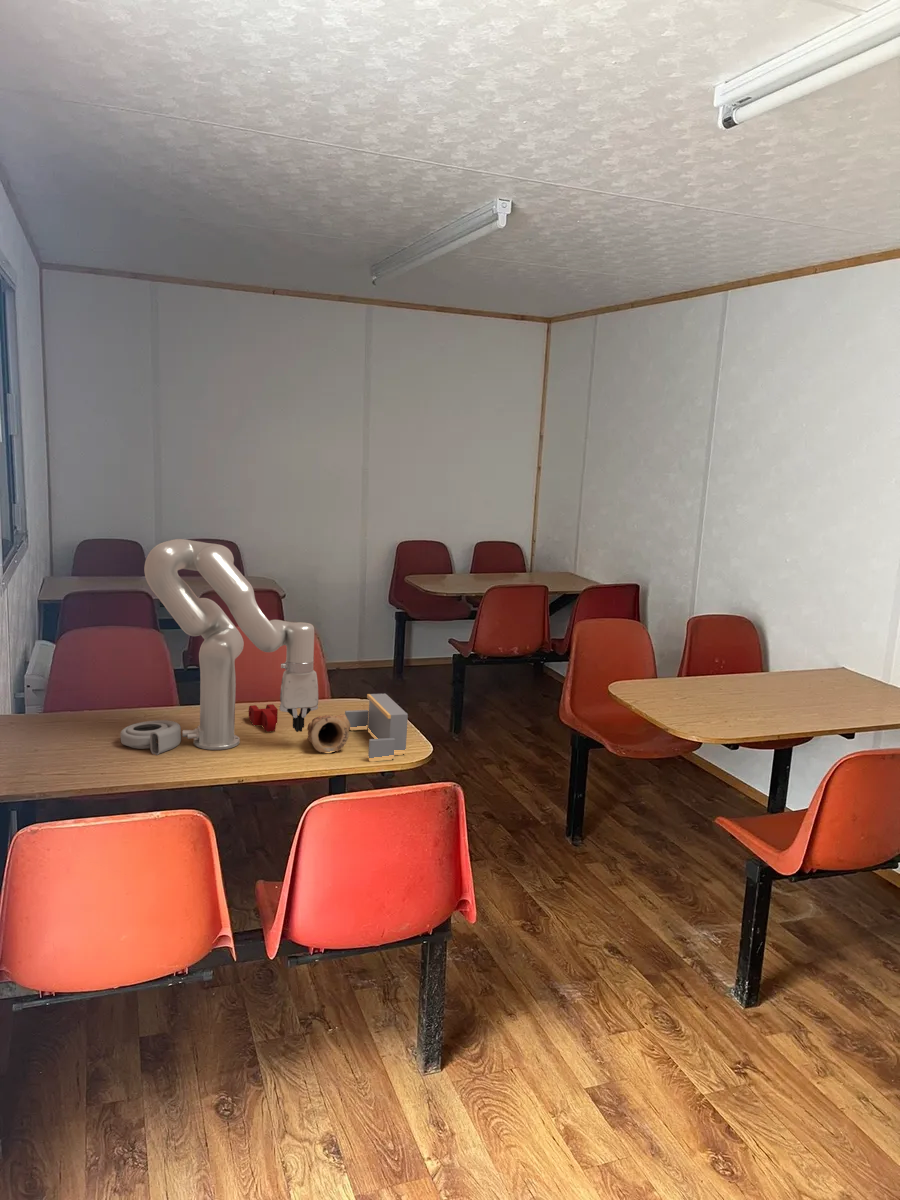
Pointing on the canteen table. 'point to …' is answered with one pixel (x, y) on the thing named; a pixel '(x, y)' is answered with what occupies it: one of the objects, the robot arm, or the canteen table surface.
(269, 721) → the mechanical linkage
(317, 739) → the clay pipe
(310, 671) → the robot arm
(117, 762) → the canteen table surface
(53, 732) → the canteen table surface
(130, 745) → the turbocharger housing
